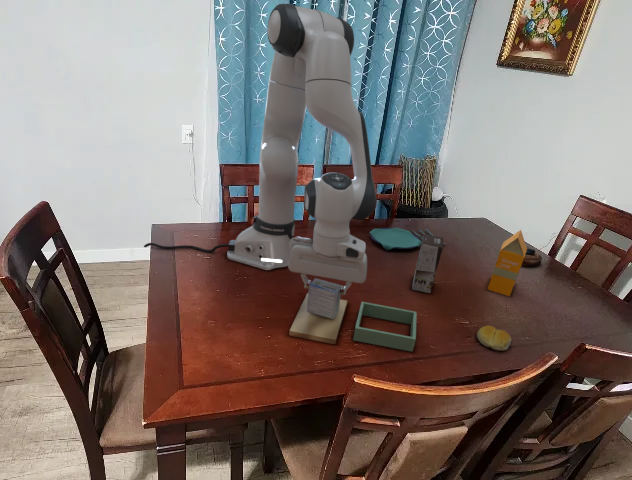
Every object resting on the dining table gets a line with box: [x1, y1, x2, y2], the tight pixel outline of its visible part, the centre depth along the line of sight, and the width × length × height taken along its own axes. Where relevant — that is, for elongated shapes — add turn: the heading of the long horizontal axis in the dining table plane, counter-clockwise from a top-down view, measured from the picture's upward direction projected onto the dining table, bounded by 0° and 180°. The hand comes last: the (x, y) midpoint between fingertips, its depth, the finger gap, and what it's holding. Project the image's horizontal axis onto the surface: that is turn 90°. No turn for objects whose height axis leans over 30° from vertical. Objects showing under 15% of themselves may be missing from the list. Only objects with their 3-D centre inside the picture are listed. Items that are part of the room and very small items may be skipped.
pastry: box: [521, 245, 543, 268], centre depth 172 cm, size 11×12×6 cm
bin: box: [352, 301, 418, 352], centre depth 118 cm, size 16×14×4 cm
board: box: [288, 292, 348, 345], centre depth 120 cm, size 12×20×2 cm, turn 172°
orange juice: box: [487, 229, 527, 297], centre depth 145 cm, size 8×9×20 cm
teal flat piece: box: [369, 227, 446, 251], centre depth 174 cm, size 20×30×2 cm, turn 113°
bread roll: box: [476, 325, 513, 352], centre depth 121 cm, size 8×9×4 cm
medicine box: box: [307, 278, 343, 319], centre depth 117 cm, size 8×4×9 cm, turn 72°
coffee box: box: [411, 233, 444, 294], centre depth 141 cm, size 9×6×16 cm
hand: (325, 290), depth 116 cm, fingers closed on medicine box, 8 cm apart
